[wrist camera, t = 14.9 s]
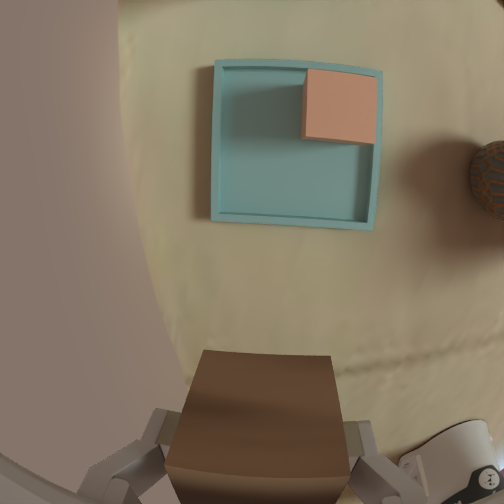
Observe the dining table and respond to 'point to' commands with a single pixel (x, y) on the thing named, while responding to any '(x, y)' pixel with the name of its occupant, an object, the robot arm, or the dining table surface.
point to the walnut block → (260, 432)
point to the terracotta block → (339, 107)
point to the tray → (285, 151)
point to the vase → (489, 178)
